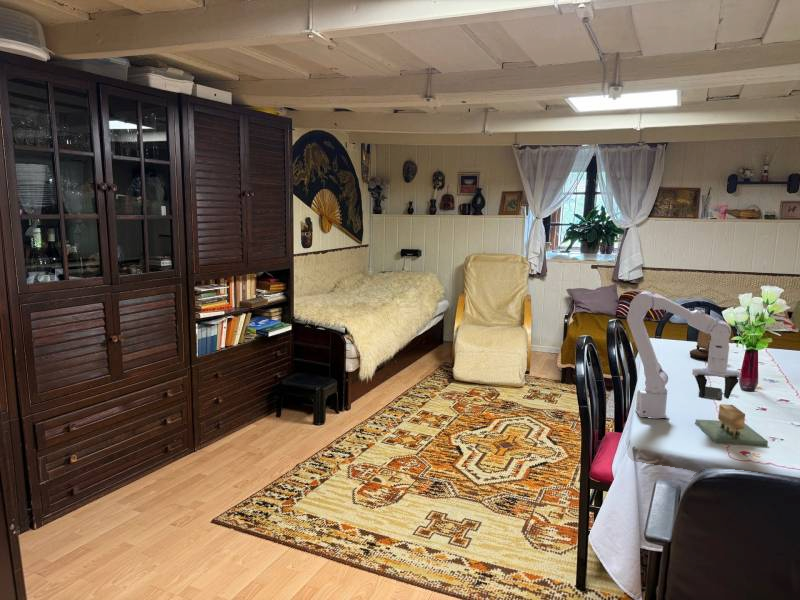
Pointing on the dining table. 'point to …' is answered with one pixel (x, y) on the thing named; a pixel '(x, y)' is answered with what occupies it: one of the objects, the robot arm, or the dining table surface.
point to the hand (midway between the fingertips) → (714, 397)
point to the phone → (712, 393)
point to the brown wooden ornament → (701, 345)
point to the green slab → (730, 433)
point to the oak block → (731, 416)
